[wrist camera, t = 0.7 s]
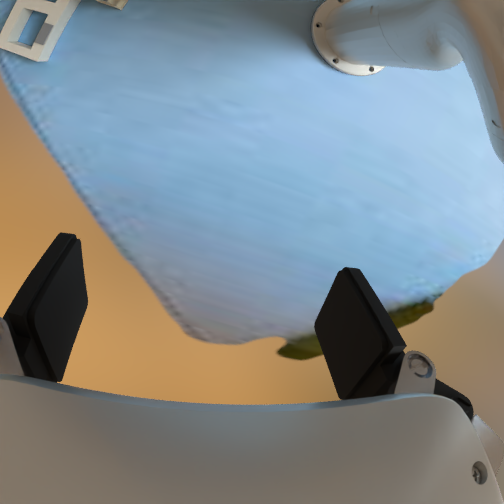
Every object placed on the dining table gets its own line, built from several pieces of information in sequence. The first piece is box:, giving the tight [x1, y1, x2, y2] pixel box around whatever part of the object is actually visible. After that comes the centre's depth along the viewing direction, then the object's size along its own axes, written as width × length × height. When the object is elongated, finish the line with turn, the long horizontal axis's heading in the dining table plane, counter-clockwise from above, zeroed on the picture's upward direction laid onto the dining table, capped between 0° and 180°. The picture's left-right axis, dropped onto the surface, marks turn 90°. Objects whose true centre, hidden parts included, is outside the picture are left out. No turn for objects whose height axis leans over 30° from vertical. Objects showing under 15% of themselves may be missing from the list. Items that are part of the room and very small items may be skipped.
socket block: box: [0, 0, 81, 62], centre depth 22 cm, size 15×10×3 cm, turn 146°
